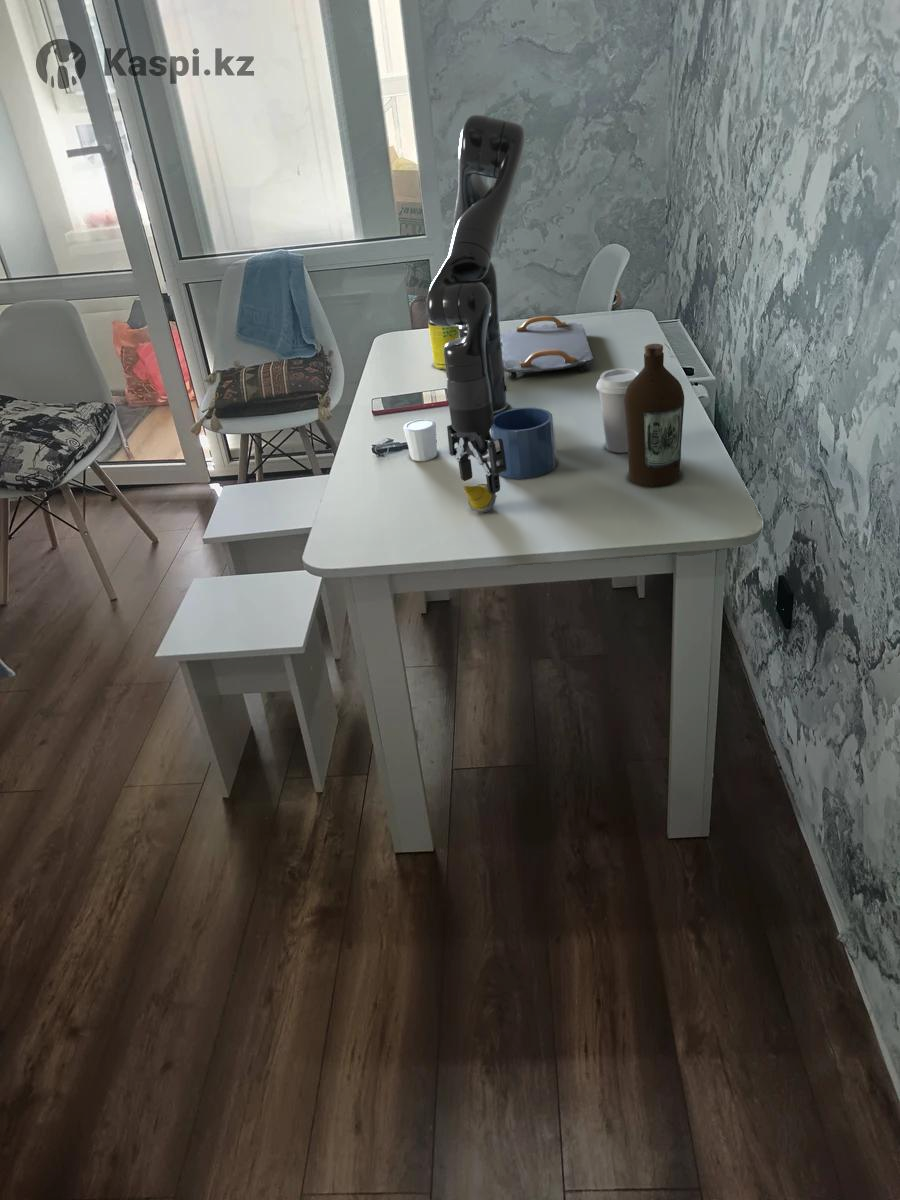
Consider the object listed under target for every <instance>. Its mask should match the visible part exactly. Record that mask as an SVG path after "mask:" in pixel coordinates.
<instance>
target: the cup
mask: <svg viewBox="0 0 900 1200" xmlns="http://www.w3.org/2000/svg"><path fill="white" fill-rule="evenodd" d="M553 419H554V418H553V414H552V413H551V412H550V411H549V410H547V409H544V408H540V407H516V408H512V409H511V408H510V409H506V410H504V411H502V412H500V413H497V414H494V424H493V425H492V427H491V428H490V435H491V437H492V439H494V440H497V439H499V438H501V439H502V441H503V446H504V453H505V461H506V468H507V470H506V471H504V472H501V473H499V476H501V477H504V478H507V479H514V480H522V479H523V480H524V479H532V478H536V477H540V476H543V475H546V474H547V473H549V472H551V471H552V470H553V469H554V468H555V466H556V449H555V448H556V447H555V433H554V432H555V431H554V420H553ZM497 462H498V464H499V465H500V461H497Z"/></svg>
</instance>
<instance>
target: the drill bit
mask: <svg viewBox="0 0 900 1200" xmlns="http://www.w3.org/2000/svg"><path fill="white" fill-rule="evenodd" d="M463 489H464V491H465V494H466V496H467V502H468V506H469V508H470V509H471V510H473V511H474V512H476V513H479V514H482V513H483V514H484V513H486V512H488V511H490V510H491V509H492V508H493V507H494V505H495V503H496V499H497V494H496V493H497V492H496V493H494V494H490V493H489V492H488V487H487V483H478V484H476V485H465V486H463Z"/></svg>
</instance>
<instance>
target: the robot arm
mask: <svg viewBox="0 0 900 1200" xmlns="http://www.w3.org/2000/svg"><path fill="white" fill-rule="evenodd" d="M525 145H526V130H525V128H524V126H523V125H522V124H520V123H517V122H515V121H511V120H506V119H501V118H497V117H494V116H493V117H492V116H490V115H484V114H472V115H470V116H468V118H466V120H465V121H464V123H463V126H462V129H461V132H460V137H459V145H458V176H457V177H458V179H457V180H458V181H457V182H458V184H457V185H458V186H457V194H456V195H457V196H456V202H455V209H454V214H453V215H454V216H453V217H454V218H453V224H452V225H453V227H452V230H453V231H452V239H451V243H450V247H449V251H448V255H447V258H446V259H445V261H444V262H443V264H442V266H441V268H440V269H439V271H438V273H437V275H436V276H435V277H434V279H433V281H432V282H431V284H430V286H429V289H428V293H427V295H426V300H425V301H426V302H425V310H426V314H427V316H428V320H429V319H430V320H431V322H432V323H434V324H435V325H437V326H441V327H459V330H458V331H459V338H457V339H454V340H452V341H450V342H448V343H447V344H446V345H445V347H444V360H445V367H446V369H445V373H446V374H445V375H446V393H447V400H448V402H447V403H448V409H449V415H450V423H451V424H449V425H447V426H446V430H447V431H446V432H447V440H448V450H449V451H448V452H449V454H450V456H451V457H453V456H454V457H455V458H454V459H455V461H456V462H458V468H459V475H460V480H461V481H463V482H466V481H469V480H471V479H472V478H473V468H472V460H471V459H470V457H471V456H472V457H473V458H475V459H476V461H477V464H478V465H479V466H482V468H483V470H484V472H485V474H486V475H485V478H486V484H487V487H488V492H489V493H490V494H494V493H498V492H500V491H501V482H500V479H501V478H500V475H499V473H501V472H504V471H506V470H507V468H506V461H505V453H504V446H503V441H502V439H501V438H499V439H497V440H494V439H492V436H491V427H492V425H493V424H494V416H495V415H497V414H499V413H501V412H504V411H506V410H507V408H508V402H507V393H508V389H507V385H506V382H505V381H506V380H505V372H504V369H503V358H502V346H501V329H500V314H499V313H500V312H499V294H498V277H497V271H496V268H495V266H494V263H493V262H492V261H491V260H492V255H493V251H494V248H495V246H496V245H497V243H498V241H499V238H500V233H501V232H500V231H501V228H502V223H503V222H502V221H503V217H504V214H505V211H506V208H507V206H508V203H509V201H510V198H511V196H512V192H513V189H514V186H515V184H516V181H517V178H518V175H519V171H520V168H521V165H522V161H523V156H524V151H525ZM484 177H486V178H491V179H495V182H494V183H493V185H492V186H491V187H490V186H489V184H488V182H487V181H486V179H484ZM456 444H457V447H455V445H456ZM487 455H488V456H487ZM497 461H500V465H499V464H498V462H497ZM489 464H490V465H489Z"/></svg>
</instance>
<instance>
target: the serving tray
mask: <svg viewBox="0 0 900 1200" xmlns="http://www.w3.org/2000/svg"><path fill="white" fill-rule="evenodd" d="M539 322H553V323H548V324H547V323H546V324H545V323H544V324H538V325H531V324H533V323H534V324H535V323H539ZM530 325H531V326H530ZM500 338H501V348H502V358H503V369H504V373H508V375H507V376H508V378H509V380H512V381H513V380H516V379H517V376H518V374H517V373H535V372H538V373H539V372H547V371H556V370H565V369H569V368H574V367H578V366H579V369H580V370H581V372H583V373H585V372H588V370H589V368H590V365H589V364H590V363H593V362H594V356H593V353H592V349H591V347H590V343H589V341H588V336H587V334H586V331H585V329H584V325H583V324H582V323H578V322H571V323H569V322H566V321H561V320H560V319H559V318H557V317H555V316H553V315H539V316H533V317H531V318H528V319H527V320H525V321H524V322H523V324H522V325H521V326H518V327H516V328H515V329H512V330H506V331H504V332H502V333H500Z"/></svg>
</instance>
